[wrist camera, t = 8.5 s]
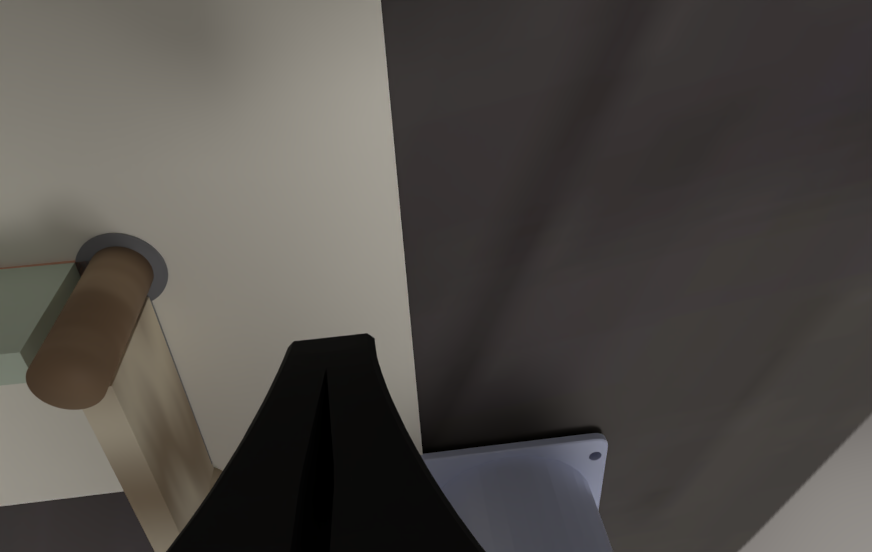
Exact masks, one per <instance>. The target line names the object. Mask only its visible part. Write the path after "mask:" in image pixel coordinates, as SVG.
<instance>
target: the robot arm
mask: <svg viewBox="0 0 872 552" xmlns="http://www.w3.org/2000/svg"><path fill="white" fill-rule="evenodd" d="M607 449H608V442H607V440H606V438H605V436H604V435H603V434H600V433H590V434H581V435H573V436H565V437H557V438H548V439H540V440H532V441H524V442H515V443H507V444H499V445H491V446H483V447H474V448H466V449H458V450H450V451H441V452H433V453H425V454H423V455H420V454H419V452H418V450H417V448H416V447H415V445H414V443H413V441H412V439H411V437H410V435H409V433H408V431H407V430H406V428H405V425H404V423H403V421H402V419H401V417H400V415H399V413H398V411H397V409H396V407H395V404H394V402H393V400H392V398H391V395H390V393H389V391H388V388H387V385H386V383H385V380H384V377H383V375H382V372H381V368H380V365H379V362H378V358H377V353H376V345H375V338H374V337H372V336H371V335H369V334H368V333H364V334H355V335H346V336H337V337H328V338H318V339H309V340H300V341H293V342H292V344H291V345H290V346H289V347H288V348H287V351H286V353H285V356H284V358H283V361H282V363H281V365H280V367H279V370H278V372H277V374H276V376H275V378H274V380H273V383H272V385H271V387H270V389H269V391H268V393H267V395H266V397H265V399H264V401H263V403H262V404H261V406H260V408H259V410H258V412H257V414H256V415H255V417H254V419H253V421H252V423H251V424H250V426H249V428H248V430H247V432H246V433H245V435H244V437H243V439H242V441H241V442H240V444H239V446H238V447H237V449H236V451H235V452H234V454H233V455H232V457H231V459H230V460H229V462H228V463H227V465H226V467H225V468H224V470H223V471H222V473H221V474H220V476H219V478H218V479H217V481H216V482H215V484H214V486H213V487H212V489H211V490H210V492H209V493H208V495H207V496H206V498H205V499H204V500H203V502H202V503H201V505H200V506H199V508H198V509H197V511H196V512H195V513H194V515H193V516H192V518H191V519H190V520H189V522H188V523H187V524H186V526H185V527H184V528H183V530H182V531H181V532H180V534H179V535H178V536H177V538H176V539H175V540H174V542H173V543H172V544H171V546H170V547H169V548H168V550H167V551H166V552H613V550H612V547H611V544H610V542H609V539H608V536H607V533H606V531H605V528H604V525H603V522H602V520H601V517H600V514H599V511H598V509H599V503H600V496H601V489H602V482H603V476H604V469H605V462H606V456H607Z"/></svg>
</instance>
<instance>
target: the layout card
mask: <svg viewBox="0 0 872 552" xmlns="http://www.w3.org/2000/svg"><path fill="white" fill-rule="evenodd" d="M114 246H118V247H125V248H129V249H132V250H134V251H136V252H138V253H140V254H141V255H142V256H144V257H145V258H146V259H147V260H148V262H149V263H150V265H151V266H152V269H153V273H154V278H153V282H152V284H151V287H150V289H149V292H148V294H147V296H146V297H149V298H150V301H151V304H152V306H153V309H154V312H155V314H156V317H157V320H158V322H159V325H160V328H161V330H162V333H163V336H164V338H165V341H166V344H167V346H168V349H169V352H170V354H171V357H172V360H173V362H174V365H175V368H176V370H177V373H178V376H179V378H180V381H181V384H182V386H183V389H184V392H185V394H186V397H187V400H188V402H189V405H190V408H191V410H192V413H193V416H194V418H195V421H196V424H197V426H198V429H199V432H200V435H201V437H202V440H203V443H204V445H205V448H206V451H207V453H208V456H209V459H210V461H211V464H212V465H213V467H215V468H218V469H220V470H222V471H223V470H224V468H225V467H226V465H227V463H228V462H229V460H230V459H231V457H232V455H233V454H234V452H235V451H236V449H237V447H238V446H239V444H240V442H241V441H242V439H243V437H244V435H245V433H246V432H247V430H248V428H249V426H250V424H251V423H252V421H253V419H254V417H255V415H256V414H257V412H258V410H259V408H260V406H261V404H262V403H263V401H264V399H265V397H266V395H267V393H268V391H269V389H270V387H271V385H272V383H273V380H274V378H275V376H276V374H277V372H278V370H279V367H280V365H281V363H282V361H283V358H284V356H285V353H286V351H287V348H288V347H289V346H290V345H291V344H292V342H293V341H300V340H309V339H318V338H328V337H337V336H346V335H355V334H364V333H368V334H369V335H371V336H372V337H374V338H375V345H376V353H377V358H378V362H379V365H380V368H381V372H382V375H383V377H384V380H385V383H386V385H387V388H388V391H389V393H390V395H391V398H392V400H393V402H394V404H395V407H396V409H397V411H398V413H399V415H400V417H401V419H402V421H403V423H404V425H405V428H406V430H407V431H408V433H409V435H410V437H411V439H412V441H413V443H414V445H415V447H416V448H417V450H418V452H419V454H420V455H423V452H422V441H421V430H420V420H419V409H418V398H417V387H416V376H415V366H414V355H413V344H412V333H411V322H410V311H409V301H408V290H407V279H406V268H405V257H404V247H403V236H402V225H401V214H400V203H399V193H398V182H397V171H396V160H395V149H394V138H393V128H392V117H391V106H390V95H389V84H388V74H387V63H386V52H385V41H384V30H383V19H382V9H381V0H0V269H10V268H21V267H32V266H43V265H54V264H65V263H75V265H76V267H77V270H78V272H79V274H80V277H81V276H82V274H83V273H84V271H85V269H86V267H87V266H88V264H89V262H90V260H91V259H92V257H93V256H94V255H95V253H97V252H98V251H100V250H101V249H104V248H107V247H114ZM122 491H124V490H123V488H122V486H121V484H120V483H119V481H118V479H117V477H116V475H115V473H114V471H113V469H112V467H111V465H110V463H109V461H108V459H107V457H106V455H105V453H104V451H103V449H102V447H101V445H100V443H99V441H98V439H97V437H96V435H95V433H94V431H93V429H92V427H91V426H90V424H89V422H88V420H87V418H86V416H85V414H84V412H83V410H82V409H80V410H68V409H62V408H57V407H54V406H51V405H49V404H47V403H45V402H43V401H41V400H40V399H39V398H37V397H36V396H35V395H34V394H33V393H32V392H31V391H30V389H29V388H28V385H27V383H20V384H11V385H1V386H0V506H7V505H15V504H24V503H32V502H40V501H48V500H57V499H65V498H73V497H81V496H89V495H98V494H106V493H114V492H122Z"/></svg>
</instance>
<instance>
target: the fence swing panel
mask: <svg viewBox="0 0 872 552" xmlns="http://www.w3.org/2000/svg"><path fill="white" fill-rule="evenodd" d="M80 278H81V277H80V274H79V272H78V270H77V267H76V265H75V263H65V264H54V265H43V266H32V267H21V268H10V269H0V386H1V385H11V384H20V383H26V372H27V370H28V368H29V366H30V364H31V363H32V361H33V359H34V357H35V356H36V354H37V352H38V351H39V349H40V347H41V345H42V344H43V342H44V340H45V338H46V337H47V335H48V333H49V331H50V330H51V328H52V326H53V325H54V323H55V321H56V319H57V318H58V316H59V314H60V312H61V311H62V309H63V307H64V306H65V304H66V302H67V300H68V299H69V297H70V295H71V293H72V292H73V290H74V288H75V286H76V285H77V283H78V281H79V280H80Z"/></svg>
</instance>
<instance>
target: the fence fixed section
mask: <svg viewBox="0 0 872 552" xmlns="http://www.w3.org/2000/svg"><path fill="white" fill-rule="evenodd" d="M153 278H154V273H153V269H152V266H151V265H150V263H149V262H148V260H147V259H146V258H145V257H144V256H142V255H141V254H140V253H138V252H136V251H134V250H132V249H129V248H125V247H118V246H114V247H107V248H104V249H101V250H100V251H98V252H97V253H95V255H94V256H93V257H92V259H91V260H90V262H89V264H88V266H87V267H86V269H85V271H84V273H83V274H82V276H81V278H80V280H79V281H78V283H77V285H76V286H75V288H74V290H73V292H72V293H71V295H70V297H69V299H68V300H67V302H66V304H65V306H64V307H63V309H62V311H61V312H60V314H59V316H58V318H57V319H56V321H55V323H54V325H53V326H52V328H51V330H50V331H49V333H48V335H47V337H46V338H45V340H44V342H43V344H42V345H41V347H40V349H39V351H38V352H37V354H36V356H35V357H34V359H33V361H32V363H31V364H30V366H29V368H28V370H27V372H26V383H27V385H28V388H29V389H30V391H31V392H32V393H33V394H34V395H35V396H36V397H37V398H39V399H40V400H41V401H43V402H45V403H47V404H49V405H51V406H54V407H57V408H62V409H68V410H80V409H82V410H83V412H84V414H85V416H86V418H87V420H88V422H89V424H90V426H91V427H92V429H93V431H94V433H95V435H96V437H97V439H98V441H99V443H100V445H101V447H102V449H103V451H104V453H105V455H106V457H107V459H108V461H109V463H110V465H111V467H112V469H113V471H114V473H115V475H116V477H117V479H118V481H119V483H120V484H121V486H122V488H123V490H124V492H125V494H126V496H127V498H128V500H129V502H130V504H131V506H132V508H133V510H134V512H135V514H136V516H137V518H138V520H139V522H140V524H141V526H142V528H143V530H144V532H145V534H146V536H147V538H148V539H149V541H150V543H151V545H152V547H153V549H154V551H155V552H166V551H167V550H168V548H169V547H170V546H171V544H172V543H173V542H174V540H175V539H176V538H177V536H178V535H179V534H180V532H181V531H182V530H183V528H184V527H185V526H186V524H187V523H188V522H189V520H190V519H191V518H192V516H193V515H194V513H195V512H196V511H197V509H198V508H199V506H200V505H201V503H202V502H203V500H204V499H205V498H206V496H207V495H208V493H209V492H210V490H211V489H212V487H213V486H214V484H215V482H216V481H217V479H218V478H219V476H220V474H221V473H222V470H220V469H218V468H215V467H213V465H212V464H211V461H210V459H209V456H208V453H207V451H206V448H205V445H204V443H203V440H202V437H201V435H200V432H199V429H198V426H197V424H196V421H195V418H194V416H193V413H192V410H191V408H190V405H189V402H188V400H187V397H186V394H185V392H184V389H183V386H182V384H181V381H180V378H179V376H178V373H177V370H176V368H175V365H174V362H173V360H172V357H171V354H170V352H169V349H168V346H167V344H166V341H165V338H164V336H163V333H162V330H161V328H160V325H159V322H158V320H157V317H156V314H155V312H154V309H153V306H152V304H151V301H150V298H149V297H146V296H147V294H148V292H149V289H150V287H151V284H152V282H153Z"/></svg>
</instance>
